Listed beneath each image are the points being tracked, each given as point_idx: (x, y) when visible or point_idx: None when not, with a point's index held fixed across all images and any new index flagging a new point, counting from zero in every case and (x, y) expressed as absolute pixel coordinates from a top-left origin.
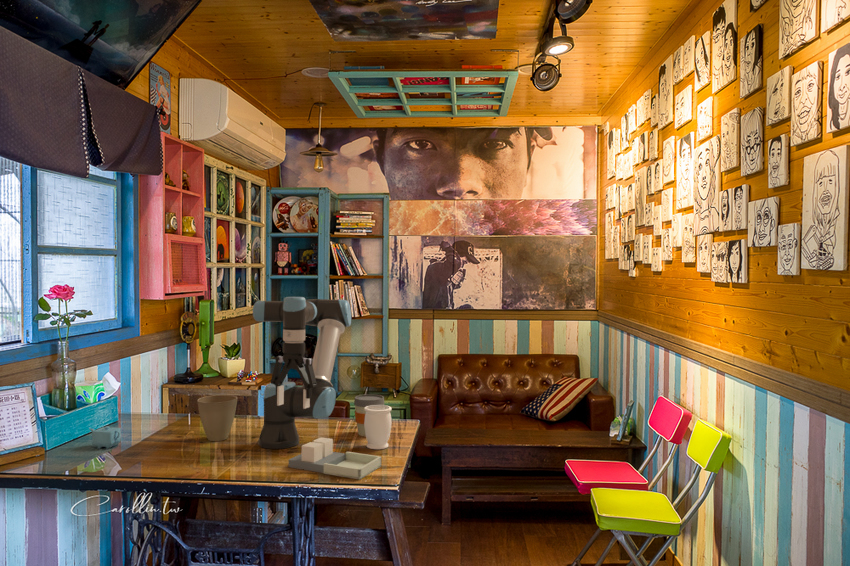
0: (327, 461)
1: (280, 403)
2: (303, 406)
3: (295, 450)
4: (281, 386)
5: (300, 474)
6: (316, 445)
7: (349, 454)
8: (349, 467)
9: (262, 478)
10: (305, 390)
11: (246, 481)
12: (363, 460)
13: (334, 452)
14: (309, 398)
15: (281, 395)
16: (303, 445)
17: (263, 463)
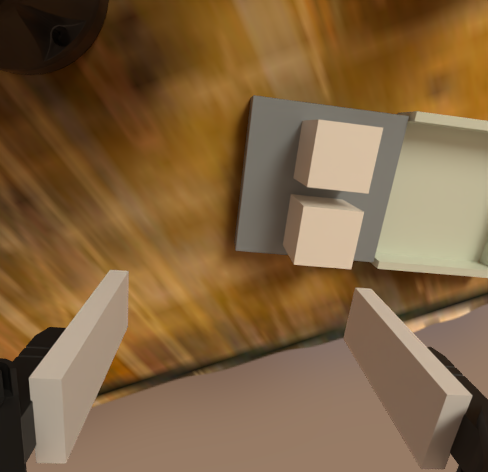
0: (371, 223)
1: (124, 315)
2: (351, 348)
3: (150, 52)
4: (65, 420)
5: (301, 284)
6: (349, 241)
7: (425, 123)
8: (466, 272)
9: (215, 344)
10: (438, 455)
11: (189, 374)
12: (472, 130)
13: (361, 116)
14: (404, 329)
15: (103, 342)
16: (298, 258)
17: (134, 237)
